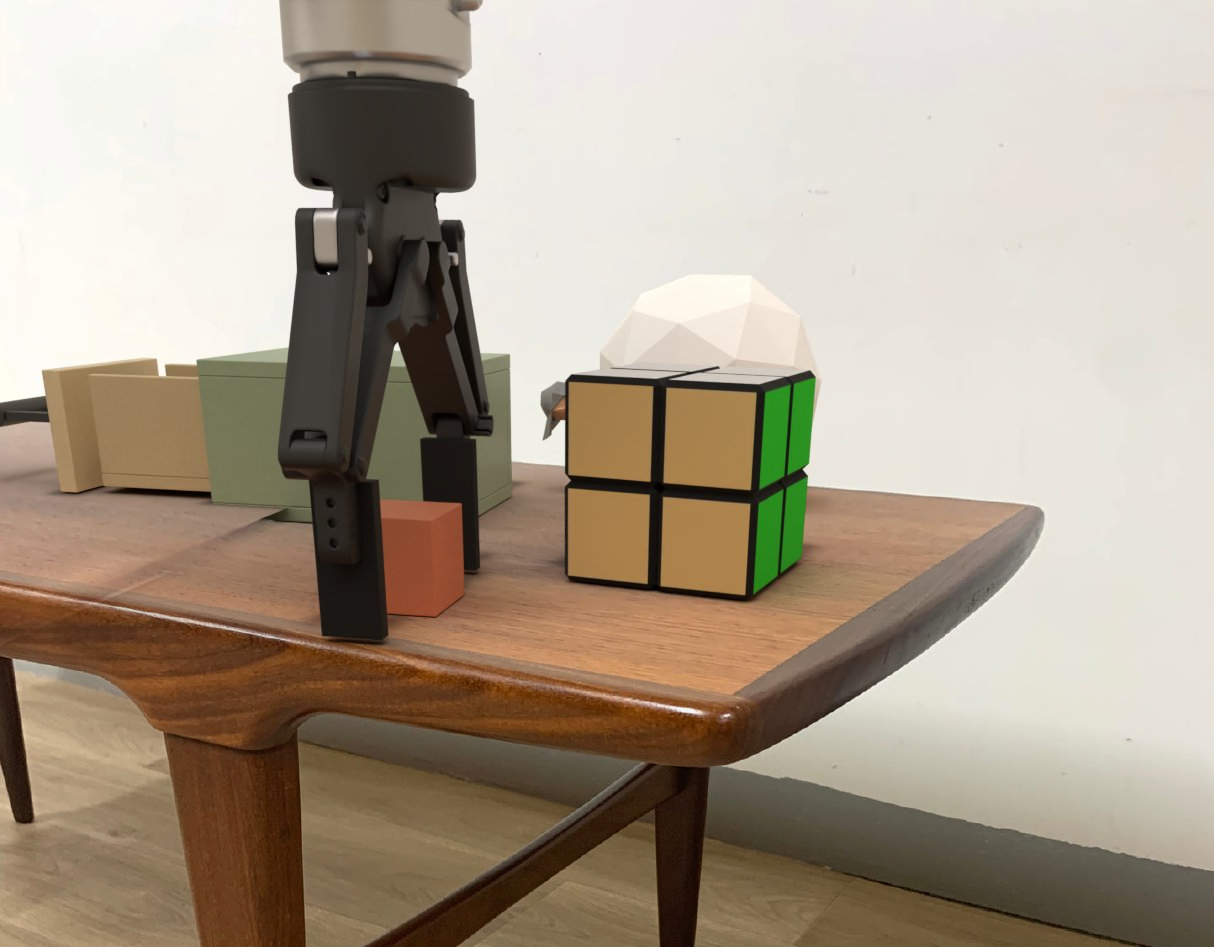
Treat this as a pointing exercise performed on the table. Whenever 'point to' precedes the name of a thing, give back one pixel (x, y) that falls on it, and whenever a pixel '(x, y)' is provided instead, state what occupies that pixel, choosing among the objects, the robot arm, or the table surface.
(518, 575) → the table surface
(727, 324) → the person on sphere
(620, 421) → the puzzle cube
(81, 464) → the drawer
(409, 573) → the block
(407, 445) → the cabinet
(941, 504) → the table surface
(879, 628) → the table surface
